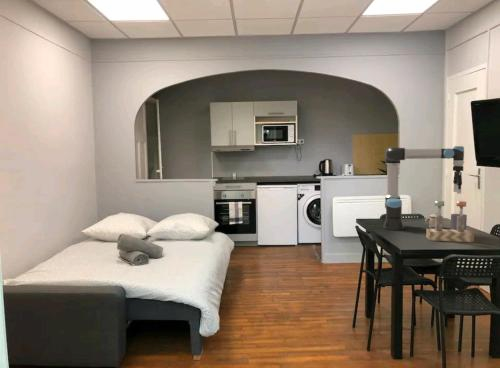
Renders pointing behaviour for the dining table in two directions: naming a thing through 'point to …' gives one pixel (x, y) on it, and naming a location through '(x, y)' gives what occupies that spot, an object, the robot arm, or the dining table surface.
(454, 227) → the container
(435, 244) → the dining table surface
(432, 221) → the teacup with lid
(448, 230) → the press stand
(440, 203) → the sage plunger
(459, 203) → the terracotta plunger
